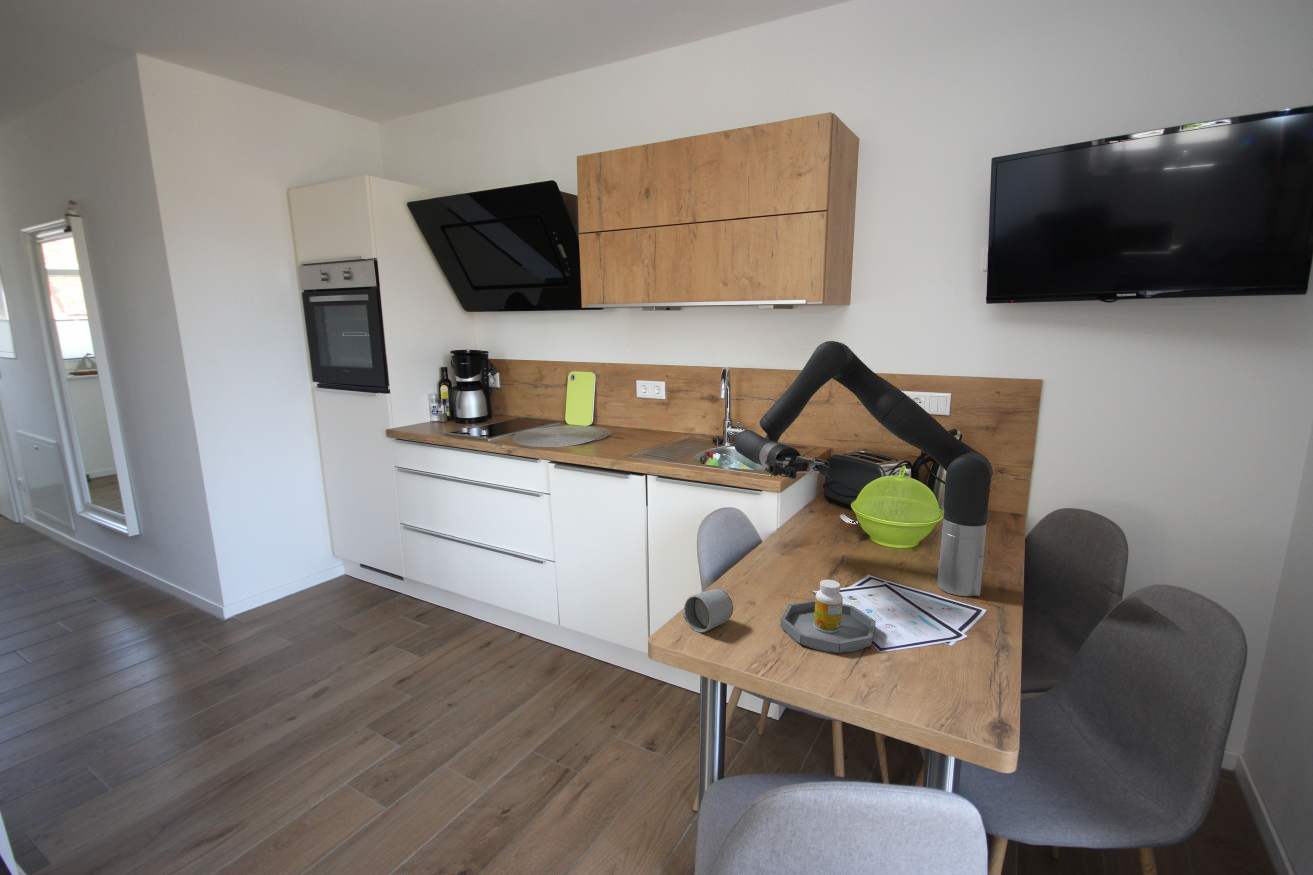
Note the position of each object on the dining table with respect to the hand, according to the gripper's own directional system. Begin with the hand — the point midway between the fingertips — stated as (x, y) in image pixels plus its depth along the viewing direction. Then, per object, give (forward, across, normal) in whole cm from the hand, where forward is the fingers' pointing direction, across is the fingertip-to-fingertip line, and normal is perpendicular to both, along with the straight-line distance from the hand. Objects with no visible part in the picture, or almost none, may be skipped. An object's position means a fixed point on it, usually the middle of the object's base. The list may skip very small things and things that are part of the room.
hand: (812, 473), depth 136 cm
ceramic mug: (+6, -27, +30) cm, 41 cm away
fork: (-43, +46, +30) cm, 70 cm away
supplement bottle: (+15, -3, +30) cm, 33 cm away
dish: (+15, -3, +30) cm, 34 cm away
